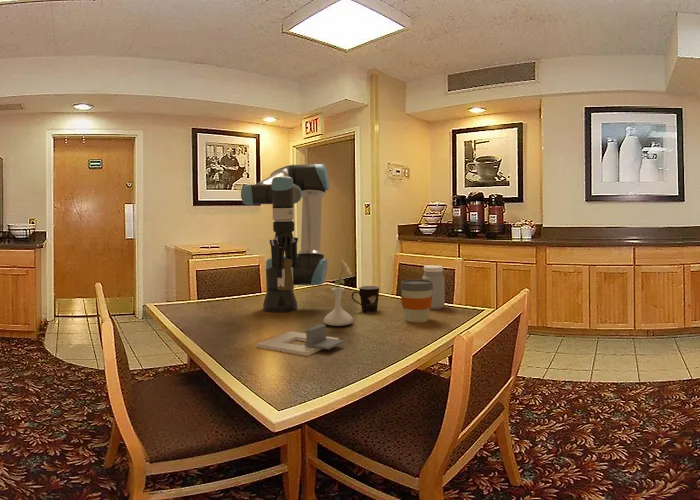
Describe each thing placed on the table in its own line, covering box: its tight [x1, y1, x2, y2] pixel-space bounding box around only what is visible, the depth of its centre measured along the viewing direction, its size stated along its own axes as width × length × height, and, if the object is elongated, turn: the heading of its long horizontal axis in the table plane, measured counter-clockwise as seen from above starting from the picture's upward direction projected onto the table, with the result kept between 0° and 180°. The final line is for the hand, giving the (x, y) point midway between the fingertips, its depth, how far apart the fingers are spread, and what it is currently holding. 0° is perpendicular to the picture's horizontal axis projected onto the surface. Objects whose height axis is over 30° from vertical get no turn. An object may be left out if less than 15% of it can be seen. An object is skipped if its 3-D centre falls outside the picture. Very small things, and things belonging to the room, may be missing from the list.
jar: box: [421, 264, 446, 310], centre depth 218 cm, size 10×10×18 cm
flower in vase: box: [323, 258, 354, 327], centre depth 190 cm, size 13×11×25 cm
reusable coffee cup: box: [400, 278, 433, 323], centre depth 195 cm, size 13×13×15 cm
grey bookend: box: [303, 324, 345, 350], centre depth 158 cm, size 9×9×5 cm
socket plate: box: [255, 331, 340, 357], centre depth 164 cm, size 20×18×1 cm
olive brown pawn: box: [277, 258, 295, 290], centre depth 181 cm, size 6×6×11 cm
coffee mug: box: [351, 285, 380, 313], centre depth 214 cm, size 12×9×10 cm
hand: (285, 285), depth 181 cm, fingers closed on olive brown pawn, 4 cm apart
